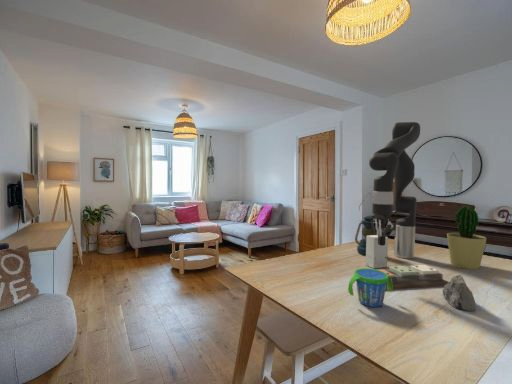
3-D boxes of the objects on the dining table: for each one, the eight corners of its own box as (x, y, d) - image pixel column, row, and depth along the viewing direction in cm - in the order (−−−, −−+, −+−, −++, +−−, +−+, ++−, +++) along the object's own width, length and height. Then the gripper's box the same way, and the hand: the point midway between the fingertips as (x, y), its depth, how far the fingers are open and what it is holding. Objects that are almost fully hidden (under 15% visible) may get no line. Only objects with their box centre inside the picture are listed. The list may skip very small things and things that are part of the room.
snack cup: (355, 311, 83) (356, 279, 83) (341, 296, 94) (342, 268, 93) (402, 309, 85) (403, 278, 84) (383, 295, 95) (383, 267, 95)
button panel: (359, 276, 113) (359, 268, 113) (420, 273, 119) (421, 264, 118) (380, 290, 100) (380, 280, 100) (448, 285, 105) (448, 276, 105)
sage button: (389, 271, 112) (389, 266, 112) (403, 270, 113) (404, 265, 113) (400, 277, 105) (401, 271, 105) (416, 276, 106) (416, 271, 106)
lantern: (382, 253, 151) (384, 192, 150) (380, 258, 141) (382, 193, 140) (356, 249, 159) (358, 191, 157) (352, 254, 149) (354, 192, 147)
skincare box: (373, 269, 124) (374, 237, 123) (364, 265, 130) (365, 235, 129) (387, 267, 126) (388, 236, 126) (378, 263, 132) (379, 234, 131)
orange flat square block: (367, 274, 110) (367, 269, 110) (382, 273, 111) (383, 268, 111) (378, 281, 103) (378, 275, 103) (394, 280, 104) (394, 274, 104)
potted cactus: (470, 261, 137) (472, 204, 136) (494, 271, 122) (497, 207, 121) (439, 260, 139) (441, 203, 138) (458, 269, 124) (461, 206, 122)
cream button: (410, 270, 114) (410, 265, 113) (424, 269, 115) (424, 264, 115) (423, 276, 107) (423, 270, 107) (438, 275, 108) (438, 269, 108)
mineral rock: (445, 292, 98) (446, 266, 98) (482, 302, 90) (484, 274, 90) (434, 302, 90) (435, 273, 90) (474, 315, 82) (475, 283, 81)
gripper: (402, 204, 100) (401, 249, 101) (380, 201, 113) (379, 241, 114) (384, 204, 99) (383, 249, 100) (364, 201, 112) (363, 241, 113)
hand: (381, 245), depth 107 cm, fingers closed
